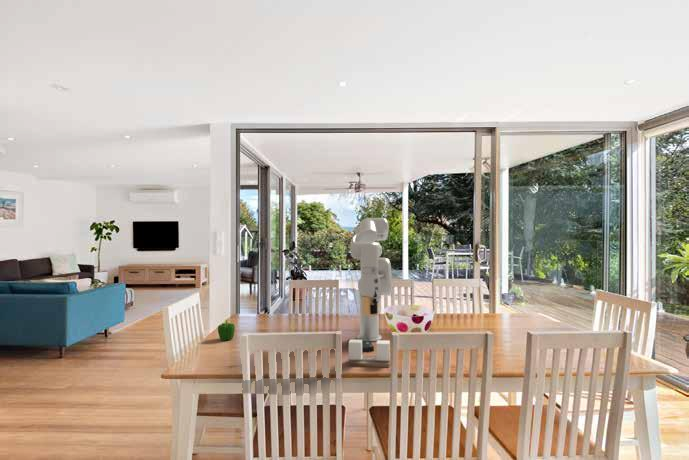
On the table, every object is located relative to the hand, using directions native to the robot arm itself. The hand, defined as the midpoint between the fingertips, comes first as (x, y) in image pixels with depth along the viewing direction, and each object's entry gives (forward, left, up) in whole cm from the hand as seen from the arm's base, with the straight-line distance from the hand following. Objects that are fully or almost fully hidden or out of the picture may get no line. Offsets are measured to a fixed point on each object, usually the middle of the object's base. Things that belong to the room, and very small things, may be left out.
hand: (370, 312), depth 184 cm
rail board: (+6, 0, -20) cm, 21 cm away
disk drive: (-16, -6, -21) cm, 27 cm away
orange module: (0, 0, -1) cm, 1 cm away
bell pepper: (-23, -76, -20) cm, 82 cm away
